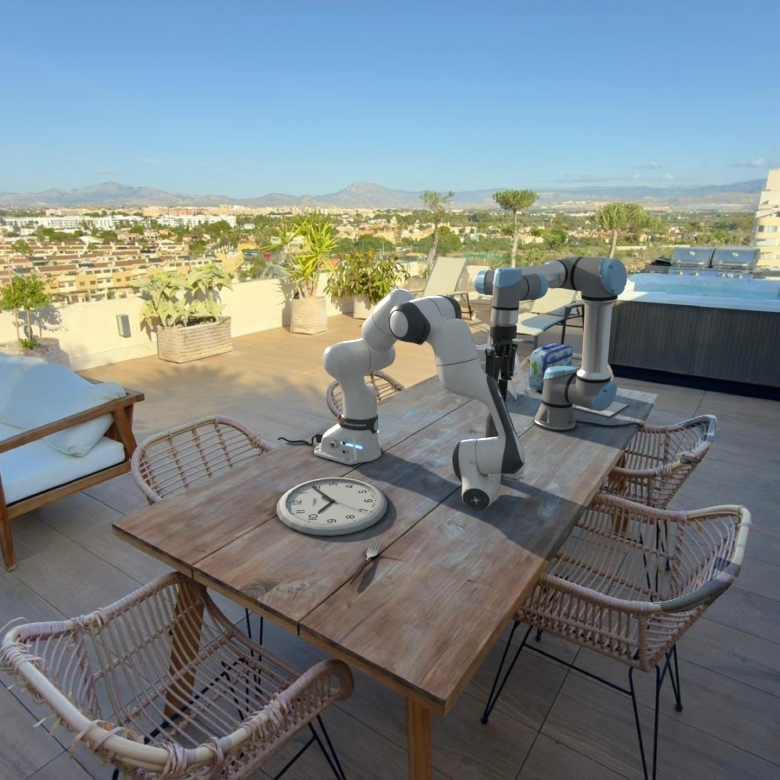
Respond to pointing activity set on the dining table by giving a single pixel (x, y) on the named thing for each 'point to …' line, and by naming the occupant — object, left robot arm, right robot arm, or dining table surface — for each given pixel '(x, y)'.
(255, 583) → the dining table surface
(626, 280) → the right robot arm
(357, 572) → the fork
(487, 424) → the bottle
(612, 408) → the invitation card
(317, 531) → the wall clock
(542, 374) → the lunch box
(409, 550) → the dining table surface
